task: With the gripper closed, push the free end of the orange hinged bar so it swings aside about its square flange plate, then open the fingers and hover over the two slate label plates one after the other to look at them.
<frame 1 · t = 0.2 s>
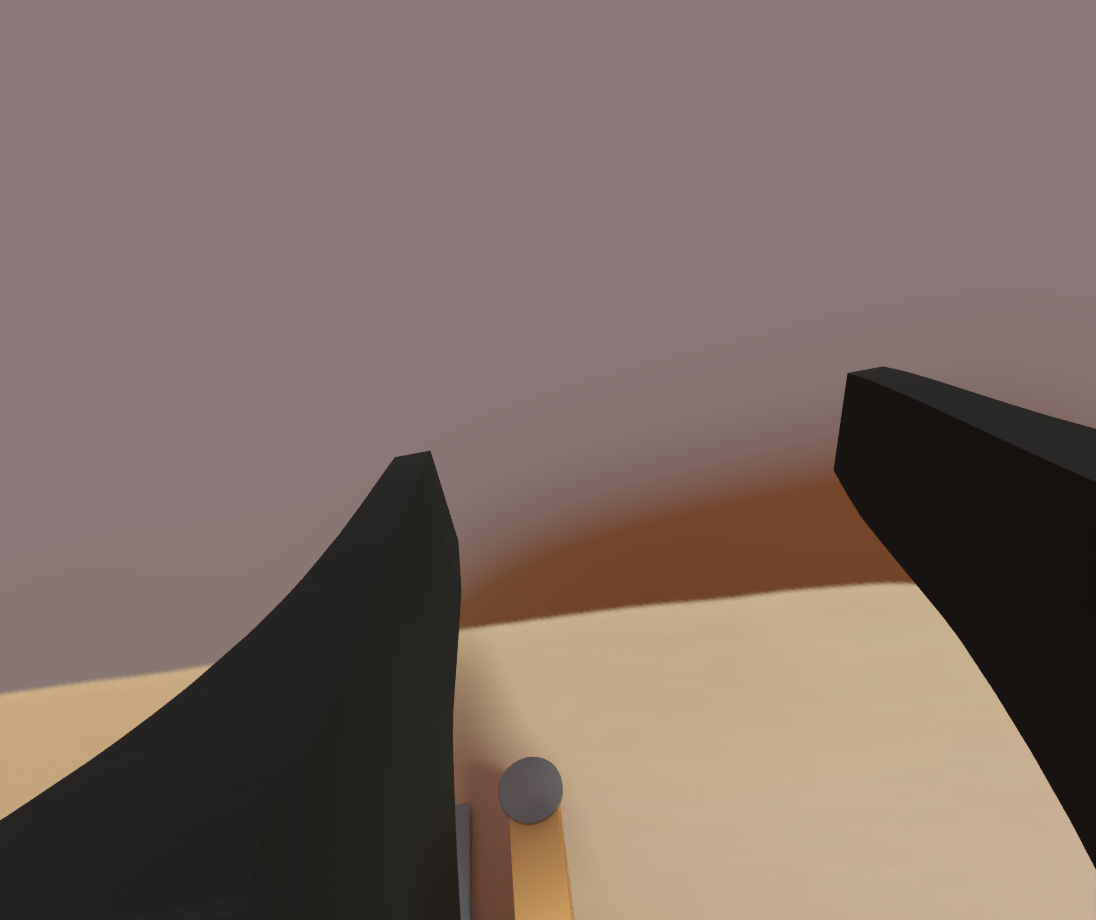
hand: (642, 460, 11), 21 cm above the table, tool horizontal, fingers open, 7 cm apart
label 1: (427, 883, 25), on the table
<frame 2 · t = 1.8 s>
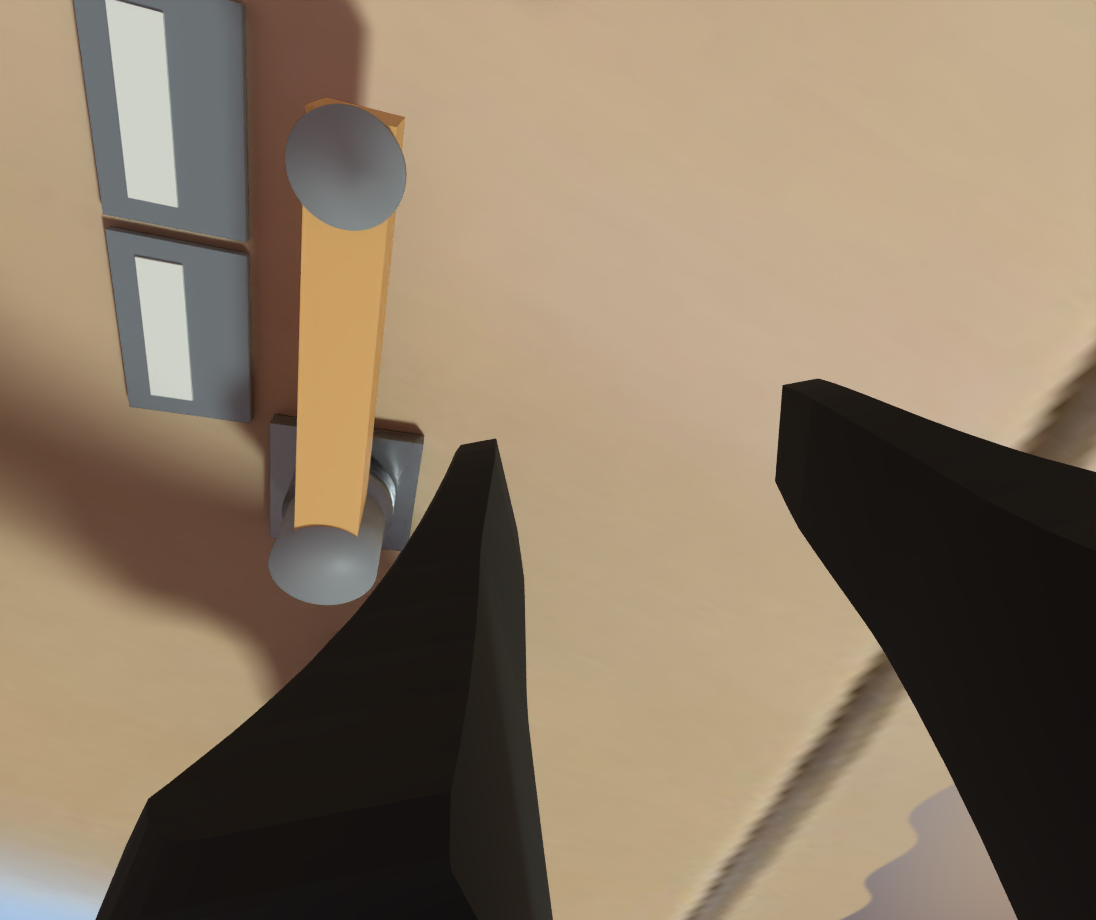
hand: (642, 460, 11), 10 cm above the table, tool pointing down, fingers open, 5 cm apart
swing arm: (339, 394, 17), point 3 cm above the table, hinge at 0.0°
label 2: (188, 332, 19), on the table
label 1: (172, 115, 16), on the table
square flange plate: (346, 483, 23), on the table
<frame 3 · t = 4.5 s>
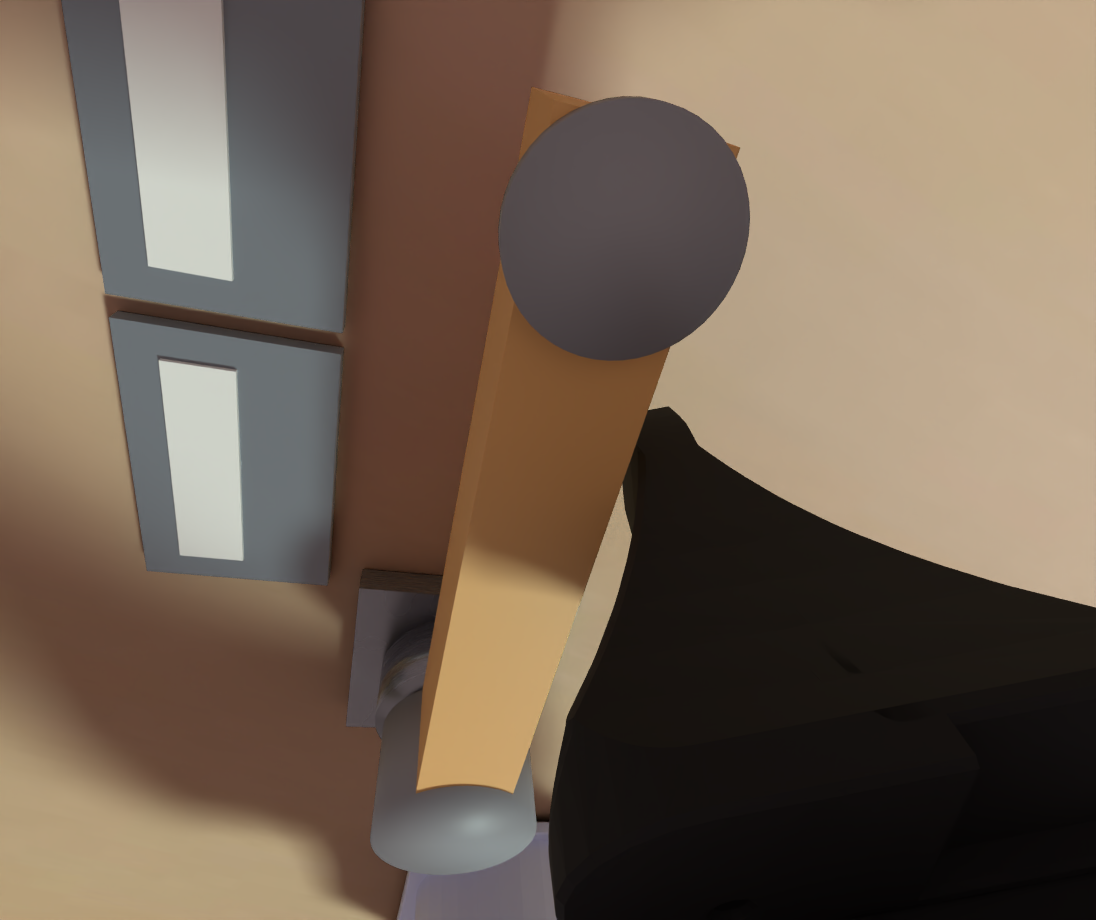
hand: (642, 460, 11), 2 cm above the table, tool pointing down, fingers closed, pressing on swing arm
swing arm: (504, 593, 10), point 3 cm above the table, hinge at 0.5°, touching gripper
label 2: (239, 463, 12), on the table
label 1: (227, 123, 9), on the table
square flange plate: (457, 649, 16), on the table
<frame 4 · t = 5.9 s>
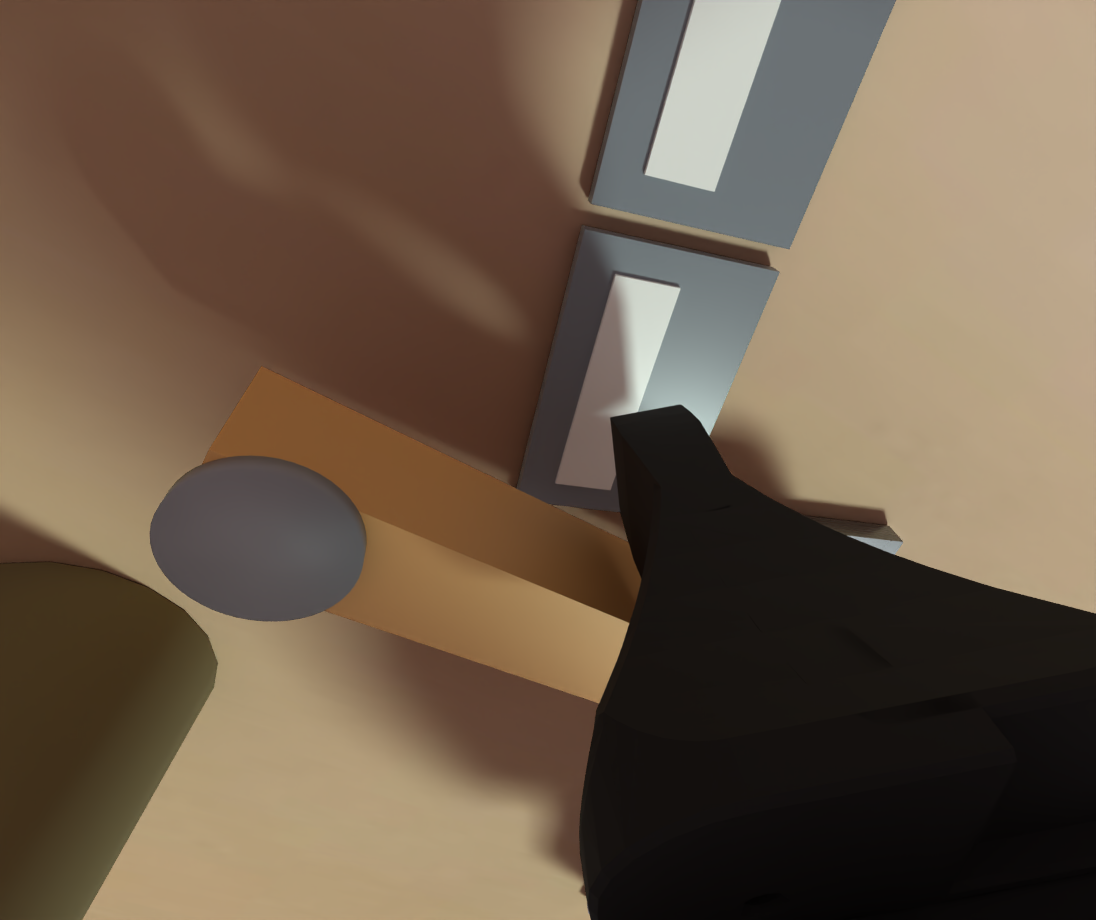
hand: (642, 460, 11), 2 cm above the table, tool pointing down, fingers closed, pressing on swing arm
swing arm: (619, 626, 11), point 3 cm above the table, hinge at 68.6°, touching gripper
label 2: (632, 389, 12), on the table
label 1: (754, 28, 9), on the table
olive cylinder: (81, 650, 15), on the table
square flange plate: (757, 590, 16), on the table
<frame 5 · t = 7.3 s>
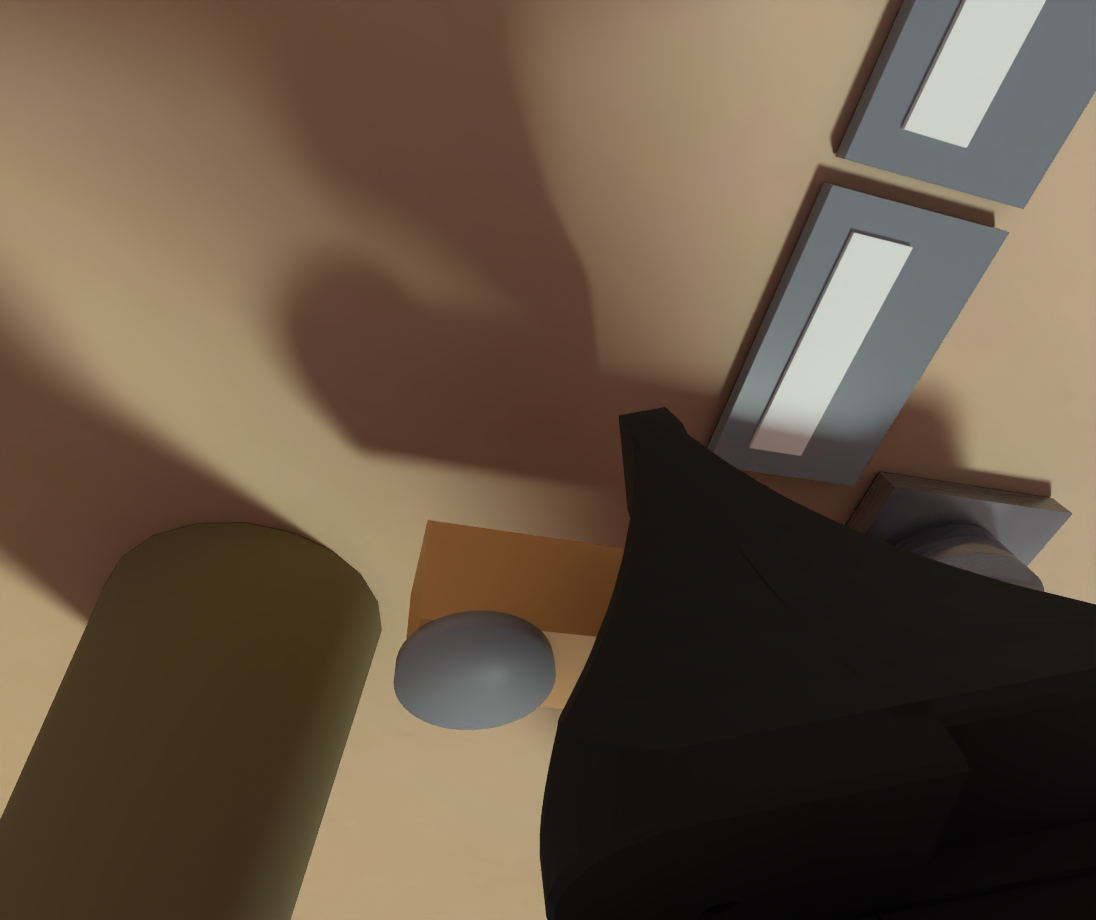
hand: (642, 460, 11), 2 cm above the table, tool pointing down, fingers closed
swing arm: (783, 651, 12), point 3 cm above the table, hinge at 87.5°, touching gripper
label 2: (837, 352, 12), on the table
olive cylinder: (251, 615, 15), on the table
square flange plate: (912, 563, 16), on the table
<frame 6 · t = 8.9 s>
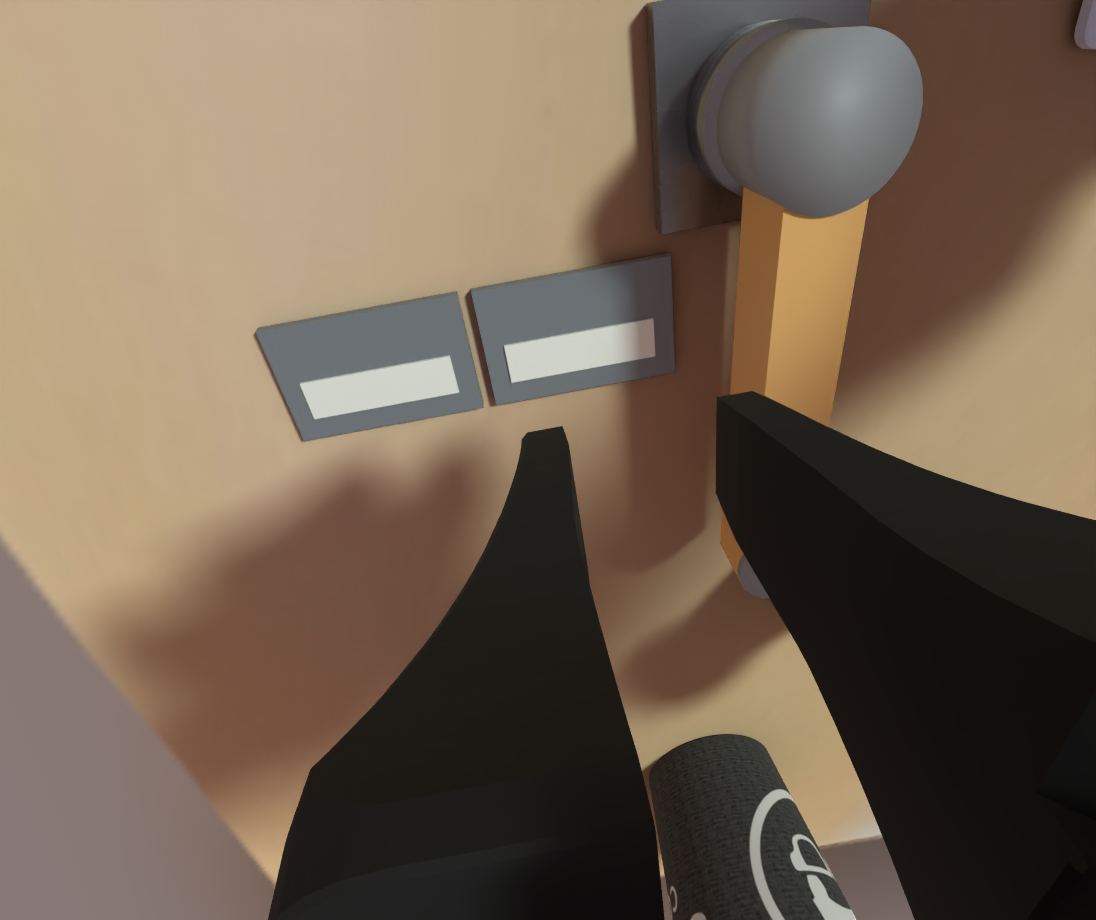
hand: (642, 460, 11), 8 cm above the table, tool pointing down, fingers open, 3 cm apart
swing arm: (784, 368, 16), point 3 cm above the table, hinge at 87.9°
label 2: (577, 330, 18), on the table
coffee cup: (707, 766, 33), on the table
label 1: (377, 367, 18), on the table
square flange plate: (749, 108, 15), on the table
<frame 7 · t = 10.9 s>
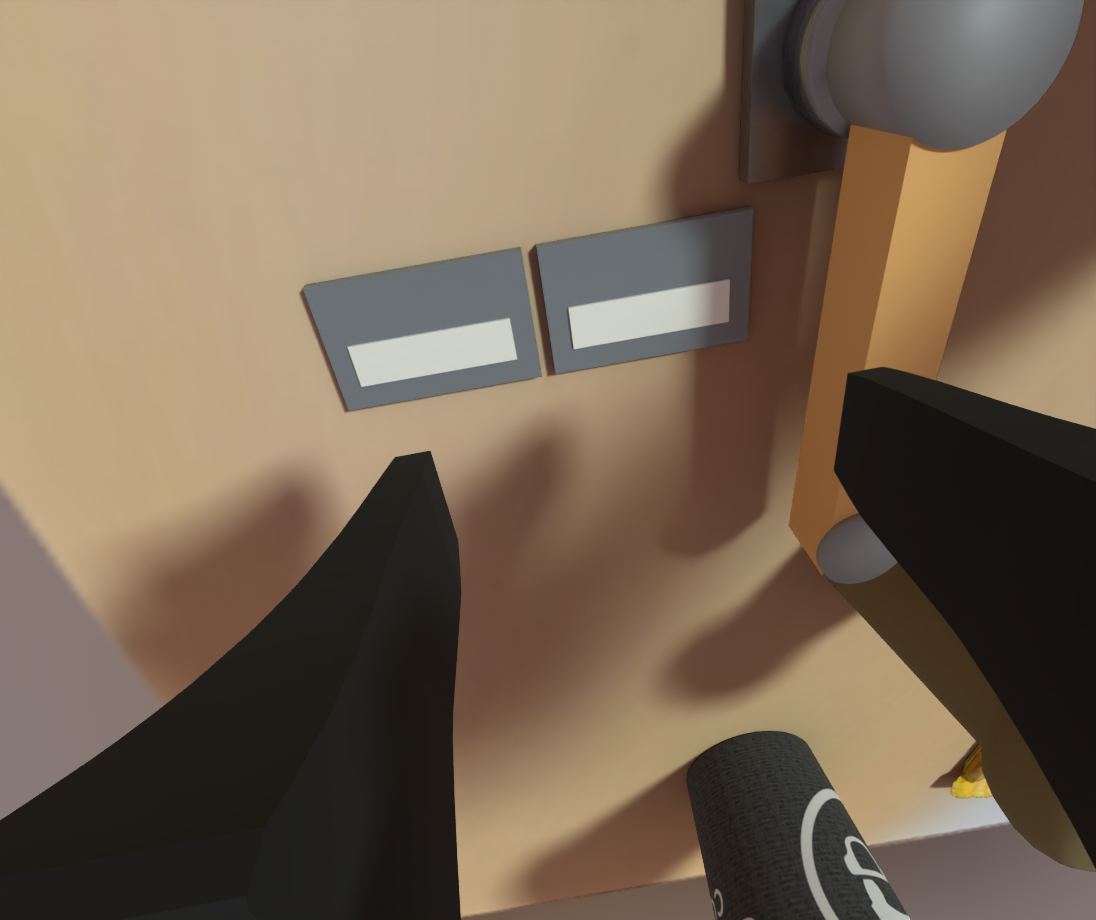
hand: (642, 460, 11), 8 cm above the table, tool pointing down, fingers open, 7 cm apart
swing arm: (884, 329, 14), point 3 cm above the table, hinge at 87.9°
candy bar: (1043, 676, 31), on the table
label 2: (646, 292, 17), on the table
coffee cup: (746, 764, 32), on the table
label 1: (430, 331, 17), on the table
olive cylinder: (892, 529, 23), on the table
square flange plate: (849, 44, 14), on the table
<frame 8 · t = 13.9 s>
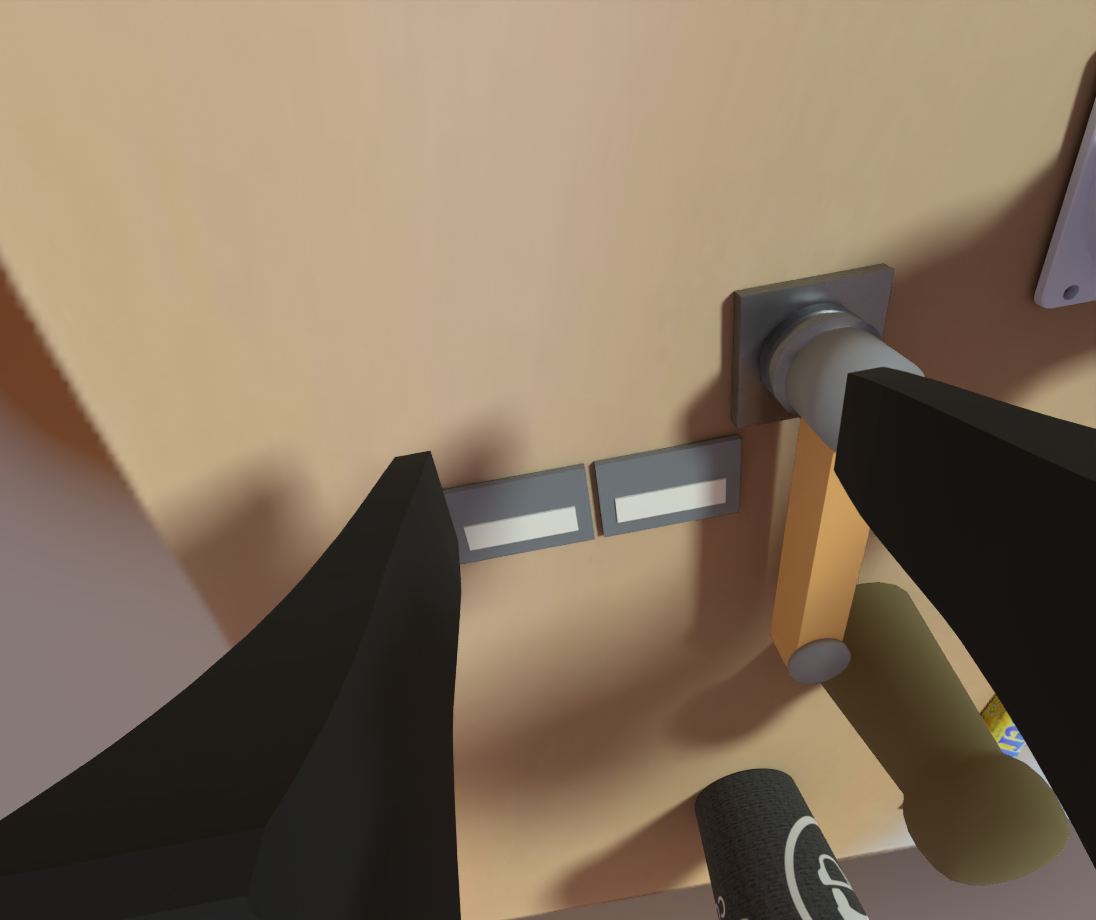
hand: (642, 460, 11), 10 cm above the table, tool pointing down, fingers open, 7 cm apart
swing arm: (827, 529, 22), point 3 cm above the table, hinge at 87.9°
candy bar: (983, 720, 39), on the table
label 2: (668, 485, 24), on the table
coffee cup: (743, 794, 39), on the table
label 1: (519, 513, 24), on the table
olive cylinder: (851, 623, 31), on the table
square flange plate: (802, 346, 22), on the table
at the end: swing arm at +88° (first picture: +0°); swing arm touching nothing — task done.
